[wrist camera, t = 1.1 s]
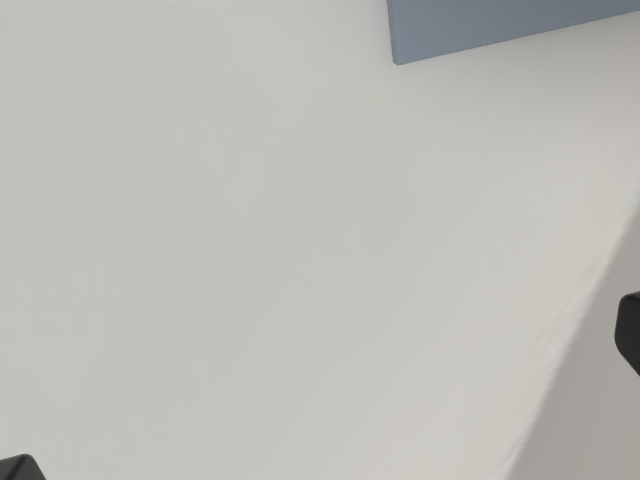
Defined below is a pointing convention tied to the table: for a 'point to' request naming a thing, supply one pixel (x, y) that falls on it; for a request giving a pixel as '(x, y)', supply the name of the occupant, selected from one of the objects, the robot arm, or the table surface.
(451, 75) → the table surface
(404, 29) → the blue-gray mat
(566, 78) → the table surface
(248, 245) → the table surface
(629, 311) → the robot arm
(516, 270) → the table surface
